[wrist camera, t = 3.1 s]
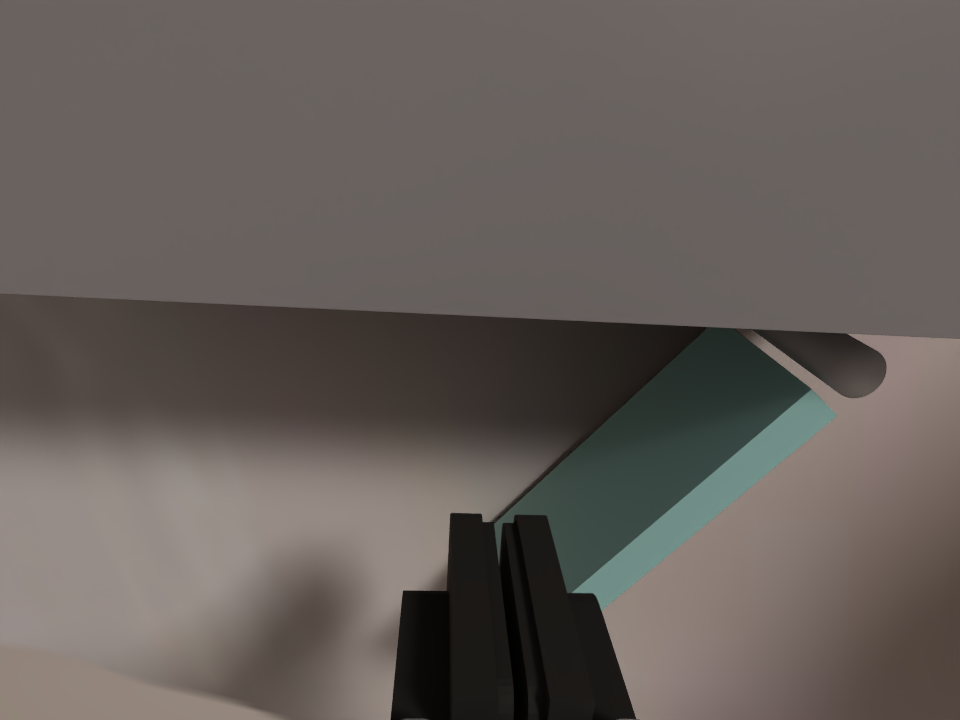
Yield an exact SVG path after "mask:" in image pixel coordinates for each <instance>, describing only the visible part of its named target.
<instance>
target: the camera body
mask: <svg viewBox="0 0 960 720" xmlns="http://www.w3.org/2000/svg"><path fill="white" fill-rule="evenodd" d="M0 294H20V295H41V296H63V297H84V298H105V299H126V300H147V301H168V302H190V303H211V304H232V305H253V306H274V307H296V308H317V309H338V310H359V311H380V312H401V313H423V314H444V315H465V316H486V317H507V318H529V319H550V320H571V321H592V322H613V323H634V324H656V325H677V326H698V327H719V328H740V329H762V330H783V331H804V332H825V333H846V334H867V335H889V336H910V337H931V338H952V339H960V0H0Z"/></svg>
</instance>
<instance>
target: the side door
mask: <svg viewBox="0 0 960 720" xmlns="http://www.w3.org/2000/svg"><path fill="white" fill-rule="evenodd" d="M752 330H753V331H755V332H756V333H757V334H759V335H760V336H761V337H763V338H764V339H765V340H767V341H768V342H770V343H771V344H772V345H774V346H775V347H776V348H778V349H779V350H781V351H782V352H783V353H785V354H786V355H787V356H789V357H790V358H791V359H793V360H794V361H796V362H797V363H798V364H800V365H801V366H802V367H804V368H805V369H807V370H808V371H809V372H811V373H812V374H813V375H815V376H816V377H818V378H819V379H820V380H822V381H823V382H824V383H826V384H827V385H828V386H830V387H831V388H833V389H834V390H835V391H837V392H838V393H839V394H841V395H843V396H845V397H848V398H860V397H863V396H866V395H868V394H870V393H872V392H873V391H875V390H876V389H877V388H878V387H879V386H880V384H881V383H882V381H883V380H884V377H885V374H886V362H885V359H884V357H883V356H882V355H881V354H880V353H879V352H878V351H876V350H874V349H873V348H871V347H869V346H867V345H865V344H864V343H862V342H860V341H858V340H857V339H855V338H853V337H851V336H849V335H848V334H846V333H825V332H804V331H783V330H762V329H752ZM836 416H837V415H836V414H835V413H834V412H833V411H832V410H831V409H830V408H829V407H828V406H827V405H826V404H825V402H824V401H823V400H822V399H821V398H820V397H819V396H818V395H817V394H816V393H815V392H814V391H813V390H812V389H811V388H809V387H808V386H807V385H806V384H804V383H803V382H802V381H800V380H799V379H798V378H797V377H795V376H794V375H793V374H791V373H790V372H789V371H788V370H786V369H785V368H784V367H782V366H781V365H780V364H779V363H777V362H776V361H775V360H773V359H772V358H771V357H770V356H768V355H767V354H766V353H764V352H763V351H762V350H761V349H759V348H758V347H757V346H755V345H754V344H753V343H752V342H750V341H749V340H748V339H746V338H745V337H744V336H743V335H741V334H740V333H739V332H737V331H736V330H735V329H733V328H719V327H708V328H707V329H706V330H705V331H704V332H703V333H702V334H700V335H699V336H698V337H697V338H696V339H695V340H694V341H693V342H692V343H691V344H690V345H688V346H687V347H686V348H685V349H684V350H683V351H682V352H681V353H680V354H679V355H678V356H676V357H675V358H674V359H673V360H672V361H671V362H670V363H669V364H668V365H667V366H666V367H665V368H663V369H662V370H661V371H660V372H659V373H658V374H657V375H656V376H655V377H654V378H653V379H651V380H650V381H649V382H648V383H647V384H646V385H645V386H644V387H643V388H642V389H641V390H639V391H638V392H637V393H636V394H635V395H634V396H633V397H632V398H631V399H630V400H629V401H628V402H626V403H625V404H624V405H623V406H622V407H621V408H620V409H619V410H618V411H617V412H616V413H614V414H613V415H612V416H611V417H610V418H609V419H608V420H607V421H606V422H605V423H604V424H602V425H601V426H600V427H599V428H598V429H597V430H596V431H595V432H594V433H593V434H592V435H590V436H589V437H588V438H587V439H586V440H585V441H584V442H583V443H582V444H581V445H580V446H579V447H577V448H576V449H575V450H574V451H573V452H572V453H571V454H570V455H569V456H568V457H567V458H565V459H564V460H563V461H562V462H561V463H560V464H559V465H558V466H557V467H556V468H555V469H553V470H552V471H551V472H550V473H549V474H548V475H547V476H546V477H545V478H544V479H543V480H541V481H540V482H539V483H538V484H537V485H536V486H535V487H534V488H533V489H532V490H531V491H530V492H528V493H527V494H526V495H525V496H524V497H523V498H522V499H521V500H520V501H519V502H518V503H516V504H515V505H514V506H513V507H512V508H511V509H510V510H509V511H508V512H507V513H506V514H504V515H503V516H502V517H501V518H500V519H499V520H498V521H497V522H496V523H495V524H494V528H495V536H496V545H497V553H498V561H499V560H500V547H501V534H502V525H503V523H513V521H514V516H515V515H546V516H547V518H548V521H549V525H550V529H551V533H552V536H553V540H554V544H555V548H556V552H557V556H558V560H559V563H560V567H561V571H562V575H563V579H564V583H565V586H566V590H567V593H593V594H594V595H595V596H596V597H597V600H598V602H599V605H600V608H601V611H602V610H603V609H604V608H605V607H607V606H608V605H609V604H610V603H611V602H613V601H614V600H615V599H616V598H617V597H619V596H620V595H621V594H622V593H623V592H625V591H626V590H627V589H628V588H629V587H631V586H632V585H633V584H634V583H635V582H637V581H638V580H639V579H640V578H642V577H643V576H644V575H645V574H646V573H648V572H649V571H650V570H651V569H652V568H654V567H655V566H656V565H657V564H658V563H660V562H661V561H662V560H663V559H664V558H666V557H667V556H668V555H669V554H671V553H672V552H673V551H674V550H675V549H677V548H678V547H679V546H680V545H681V544H683V543H684V542H685V541H686V540H687V539H689V538H690V537H691V536H692V535H693V534H695V533H696V532H697V531H698V530H700V529H701V528H702V527H703V526H704V525H706V524H707V523H708V522H709V521H710V520H712V519H713V518H714V517H715V516H716V515H718V514H719V513H720V512H721V511H722V510H724V509H725V508H726V507H727V506H729V505H730V504H731V503H732V502H733V501H735V500H736V499H737V498H738V497H739V496H741V495H742V494H743V493H744V492H745V491H747V490H748V489H749V488H750V487H751V486H753V485H754V484H755V483H756V482H758V481H759V480H760V479H761V478H762V477H764V476H765V475H766V474H767V473H768V472H770V471H771V470H772V469H773V468H774V467H776V466H777V465H778V464H779V463H780V462H782V461H783V460H784V459H785V458H786V457H788V456H789V455H790V454H791V453H793V452H794V451H795V450H796V449H797V448H799V447H800V446H801V445H802V444H803V443H805V442H806V441H807V440H808V439H809V438H811V437H812V436H813V435H814V434H815V433H817V432H818V431H819V430H820V429H822V428H823V427H824V426H825V425H826V424H828V423H829V422H830V421H831V420H832V419H834V418H835V417H836Z"/></svg>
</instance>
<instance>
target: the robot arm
mask: <svg viewBox="0 0 960 720" xmlns="http://www.w3.org/2000/svg"><path fill="white" fill-rule="evenodd" d="M391 720H639V719H636V717H635V714H634V711H633V708H632V704H631V701H630V698H629V695H628V692H627V689H626V686H625V683H624V680H623V676H622V673H621V670H620V667H619V664H618V661H617V658H616V655H615V652H614V649H613V645H612V642H611V639H610V636H609V633H608V630H607V627H606V624H605V621H604V617H603V614H602V611H601V608H600V605H599V602H598V600H597V597H596V596H595V595H594V594H593V593H567V590H566V586H565V583H564V579H563V575H562V571H561V567H560V563H559V560H558V556H557V552H556V548H555V544H554V540H553V536H552V533H551V529H550V525H549V521H548V518H547V516H546V515H515V516H514V521H513V523H503V525H502V534H501V547H500V560H499V561H498V553H497V545H496V536H495V528H494V523H493V522H482V514H468V513H451V514H450V532H449V554H448V575H447V591H403V596H402V606H401V617H400V627H399V638H398V648H397V659H396V669H395V680H394V690H393V701H392V711H391Z"/></svg>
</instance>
